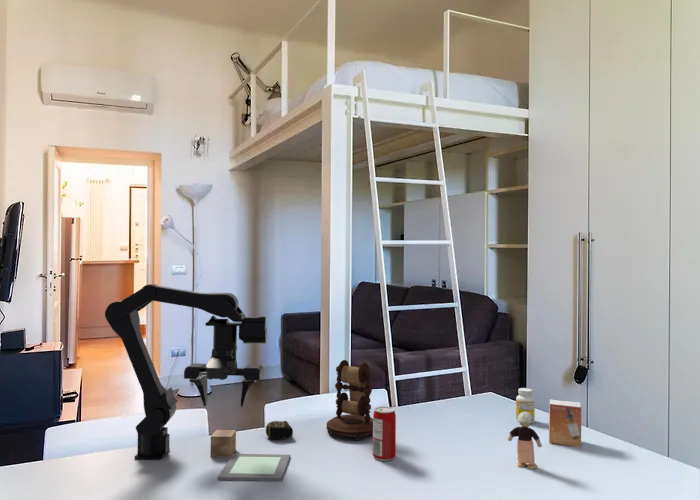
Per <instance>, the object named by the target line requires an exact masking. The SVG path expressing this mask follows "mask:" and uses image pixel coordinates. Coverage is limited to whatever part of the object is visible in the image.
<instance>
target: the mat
mask: <svg viewBox="0 0 700 500" xmlns="http://www.w3.org/2000/svg"><path fill="white" fill-rule="evenodd" d="M290 460H291V454H274V453H273V454H272V453H271V454H270V453H233V455H232V456H231V457H229V460H228V461H227V462H226V464H225V466H224V467H223V469H222V470H221V471H220V473H219V474H218V476H217V481H257V482H259V481H260V482H261V481H262V482H263V481H265V482H267V481H268V482H275V481H276V482H278V481H279V482H282V481H283V479H284V475H285V472H286V470H287V467H288V464H289V462H290Z"/></svg>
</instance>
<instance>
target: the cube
mask: <svg viewBox="0 0 700 500" xmlns="http://www.w3.org/2000/svg"><path fill="white" fill-rule="evenodd" d="M236 443H237V430H236V429H215V431H214V432H213V433H212V434H211V435H210V452H209V453H210V456H209V457H211V458H231V456H232V455H233V454H235V451H236V450H237V449H236V448H237V445H236Z"/></svg>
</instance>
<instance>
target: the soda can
mask: <svg viewBox="0 0 700 500" xmlns="http://www.w3.org/2000/svg"><path fill="white" fill-rule="evenodd" d="M372 418H373V434H372V456H373V457H374V458H375V459H376V460H377V461H381V462H383V461H385V462H388V461H391V460H393V459H394V458H395V457H396V454H397V453H396V452H397V451H396V447H397V446H396V445H397V442H396V441H397V440H396V439H397V437H396V436H397V435H396V433H397V432H396V431H397V427H396V426H397V425H396V424H397V416H396V411H395V408H394V407H392V406H377V407H374V411H373V413H372Z"/></svg>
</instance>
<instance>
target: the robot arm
mask: <svg viewBox="0 0 700 500" xmlns="http://www.w3.org/2000/svg"><path fill="white" fill-rule="evenodd" d="M152 302H158V303H159V302H160V303H165V304H171V305H178V306H182V307H188V308H196V309H199V310H202V311H204V312H205V313H208V314H211V315H212V316H210V319H209V320H208V321H207V322H205V326H206V327H211V326H212V327H213V341H212V343H213V344H212V349H211V356H210V359H209V360H208V362H207V363H197V362H195V363H190V364H189V365H187V366H186V367H185V368H184V371H183V379H184V380H185V379H186V380H188V381H189V382H190V383H193V384H194V385H195V387H196V388H197V390H198V392H199V396H200V397H201V402H202V405H203V407H207V405H208V380H220V381H222V380H227V379H228V377H229V376H231V377H232V376H235V377H236V376H238V377H239V376H241V377H243V380H242V382H241V384H242V385H241V386H242V389H241V395H240V396H241V397H240V407H241V408H243V407H244V406H245V402H246V399H247V397H248V395H249V391H250V389H251V386H252V385H253V384H255V383H256V382H257V381H259V380H261V379H262V378H263V377H264V371H265V369H264V366H263V365H262V364H247V365H246V366H245V367H238V361H237V351H238V345H237V343H238V342H237V341H238V340H240V341H241V342H243V344H247V345H248V344H249V345H250V344H251V345H252V344H254V345H255V344H256V345H257V344H258V345H259V344H260V345H263V344H265V345H266V344H267V341H268V340H267V338H268V327H267V316H265V315H262V316H246V315H245V313H244V312H243V310H242V309H241V308H240V306H239V300H238V297H236V295H235V294H233V293H232V292H197V291H190V290H187V289H181V288H173V287H169V286H168V287H167V286H163V285H158V284H156V283H149V284H146V285H144V286H142V288H140V289H139V290H137V291H135V292H133V293H132V294H131V295H129V296H127V297H126V298H124V299H122V300H118V301H114V302H112V303H110V304H109V305H108V306H107V307H106V309H105V311H104V317H105V319H106V322H107V323H108V325H109V326H110V328H111V329H112V330H113V332H114V333H115V334H116V335H117V336H118V337H119V338H120V340H121V341H122V343H123V346H124V348H125V351H126V353H127V357H128V359H129V360H130V363H131V365H132V368H133V370H134V371H133V372H134V373H135V376H136V378H137V381H138V383H139V385H140V386H139V387H140V389H141V391H142V395H143V399H142V400H143V409H144V415H145V417H144V418H143V419H141V420H140V422H139V423H137V425H135V431H136V432H137V454H135V456H134V457H133V458H134V460H136V459H138V460H143V459H144V460H161V459H162V458H163V457H165V455H167V453H169V452H170V451H171V449H170V448H171V447H170V436H171V435H170V434H169V432H168V427H166V425H167V424H168V422H169V421H170V420H171V418H173V416H174V415H175V413H176V411H177V403H178V402H179V401H178V400H177V399H176V397H175V395H174V391H173V388H172V386H171V387H169V388H167V389H166V388H165V387H164V385H162V383H161V380H160V378H159V376H158V374H157V373H158V372H157V370H156V368H155V366H154V363H153V361H152V359H151V356H150V352H149V350H148V349H147V345H146V344H145V341H144V338H143V336H142V333H141V319H140V315H139V311H141V310H142V309H144V308H146V307H147V306H148V305H149V304H150V303H152ZM217 317H219V318H217ZM230 321H231V322H230ZM237 336H238V338H237Z"/></svg>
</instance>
